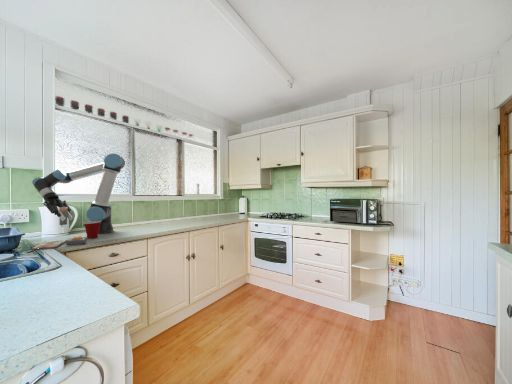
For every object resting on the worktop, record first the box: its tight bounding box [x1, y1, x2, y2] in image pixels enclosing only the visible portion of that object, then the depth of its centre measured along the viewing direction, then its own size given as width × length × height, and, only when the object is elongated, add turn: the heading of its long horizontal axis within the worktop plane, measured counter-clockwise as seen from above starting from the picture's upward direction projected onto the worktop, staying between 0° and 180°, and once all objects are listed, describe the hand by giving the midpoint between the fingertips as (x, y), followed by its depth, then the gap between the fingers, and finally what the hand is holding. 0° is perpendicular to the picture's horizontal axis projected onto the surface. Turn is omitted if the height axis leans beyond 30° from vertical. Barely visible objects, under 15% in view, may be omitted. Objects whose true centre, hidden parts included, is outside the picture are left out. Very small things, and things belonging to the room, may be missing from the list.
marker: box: [58, 207, 68, 226], centre depth 153 cm, size 4×4×12 cm
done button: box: [72, 235, 83, 240], centre depth 141 cm, size 4×4×2 cm
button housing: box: [65, 236, 89, 246], centre depth 141 cm, size 9×9×3 cm
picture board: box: [30, 239, 68, 251], centre depth 135 cm, size 11×20×1 cm, turn 28°
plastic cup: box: [82, 220, 101, 240], centre depth 158 cm, size 11×11×12 cm
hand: (67, 219), depth 152 cm, fingers closed on marker, 4 cm apart
